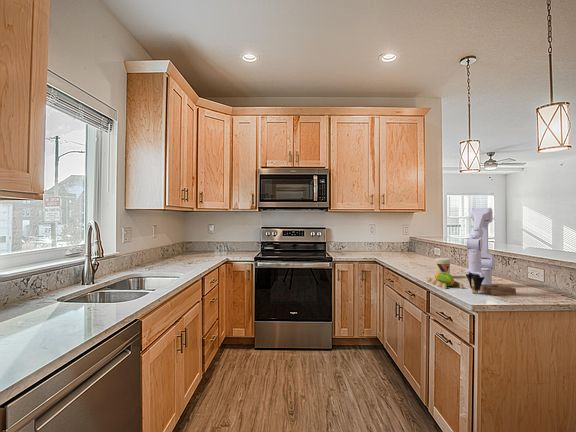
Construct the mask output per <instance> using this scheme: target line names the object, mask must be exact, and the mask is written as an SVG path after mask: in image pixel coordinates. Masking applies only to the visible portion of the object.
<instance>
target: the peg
mask: <svg viewBox="0 0 576 432" xmlns="http://www.w3.org/2000/svg"><path fill="white" fill-rule="evenodd" d="M471 280H472V286H471V287H472V288H471V287H470V288H471V291H472V292H471V293H472V294H477V295H478V294H479V290H475V288H474V281H473V279H471Z"/></svg>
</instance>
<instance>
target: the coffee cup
mask: <svg viewBox="0 0 576 432" xmlns="http://www.w3.org/2000/svg"><path fill="white" fill-rule="evenodd" d="M434 267H435V268H434V269H435V275H436V274H444V273H442V272H446V273H448V274H450V275H451V272H450V270H451V259H450V258H447V257H436V258H434Z"/></svg>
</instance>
